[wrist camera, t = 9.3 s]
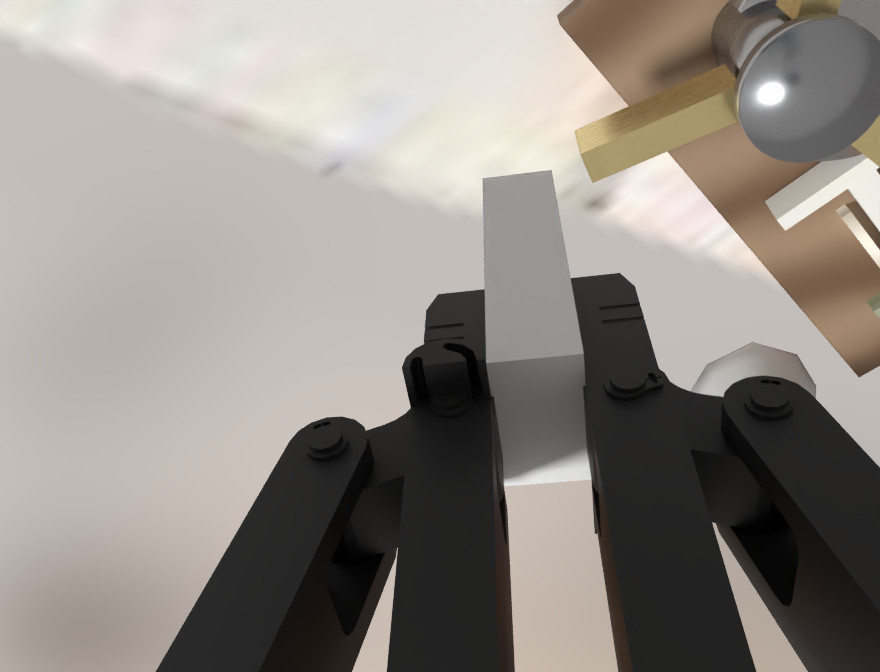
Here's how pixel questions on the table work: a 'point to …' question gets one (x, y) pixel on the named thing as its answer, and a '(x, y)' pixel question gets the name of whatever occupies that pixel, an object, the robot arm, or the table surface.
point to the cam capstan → (763, 89)
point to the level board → (743, 169)
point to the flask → (752, 369)
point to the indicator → (829, 190)
